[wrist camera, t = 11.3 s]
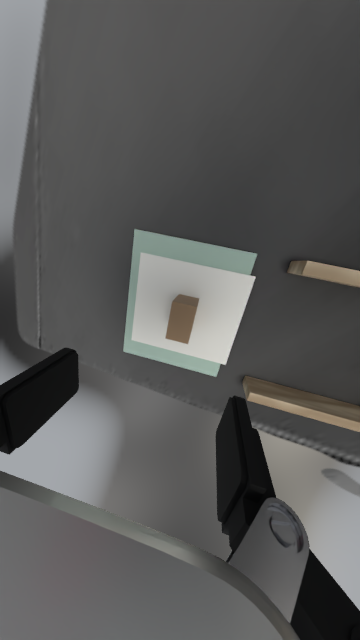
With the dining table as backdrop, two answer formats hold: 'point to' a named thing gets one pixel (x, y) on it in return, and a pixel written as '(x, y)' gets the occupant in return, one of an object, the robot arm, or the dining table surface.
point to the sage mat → (187, 253)
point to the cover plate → (210, 307)
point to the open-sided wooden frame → (301, 400)
